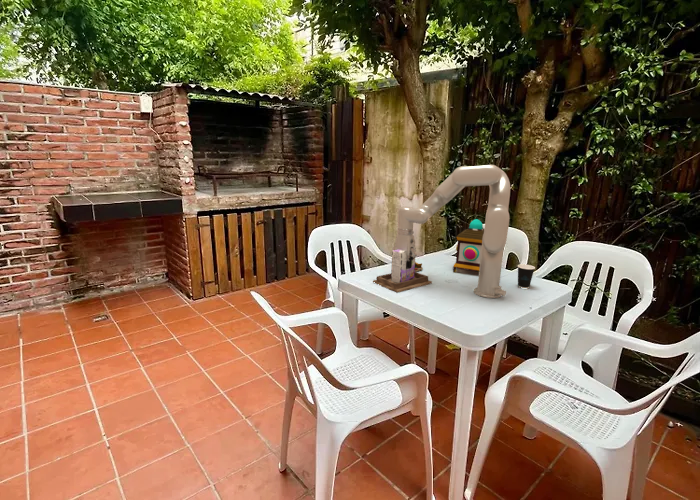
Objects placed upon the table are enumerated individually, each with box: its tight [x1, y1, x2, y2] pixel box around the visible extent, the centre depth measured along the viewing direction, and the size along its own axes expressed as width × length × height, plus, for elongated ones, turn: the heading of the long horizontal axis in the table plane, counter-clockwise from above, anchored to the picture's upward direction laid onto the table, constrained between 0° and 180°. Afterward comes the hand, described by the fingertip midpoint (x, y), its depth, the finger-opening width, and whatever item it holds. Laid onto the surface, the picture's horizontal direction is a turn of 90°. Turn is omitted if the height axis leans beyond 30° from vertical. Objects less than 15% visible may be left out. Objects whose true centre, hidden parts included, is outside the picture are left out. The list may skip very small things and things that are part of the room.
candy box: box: [390, 247, 417, 283], centre depth 186 cm, size 14×6×16 cm, turn 140°
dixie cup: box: [517, 263, 536, 288], centre depth 184 cm, size 8×8×11 cm
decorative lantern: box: [452, 218, 485, 273], centre depth 208 cm, size 20×20×30 cm
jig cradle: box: [372, 272, 433, 294], centre depth 188 cm, size 18×24×4 cm
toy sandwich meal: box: [415, 261, 423, 273], centre depth 213 cm, size 12×14×5 cm
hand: (403, 266), depth 187 cm, fingers closed on candy box, 6 cm apart
